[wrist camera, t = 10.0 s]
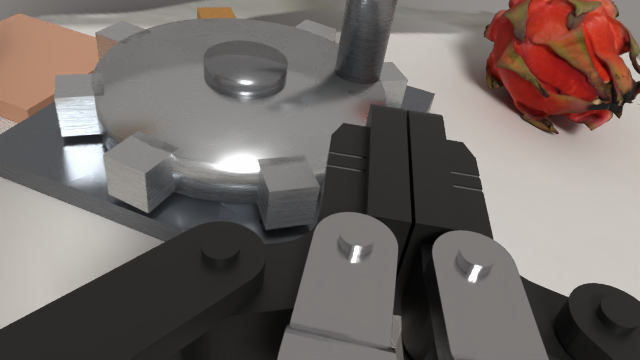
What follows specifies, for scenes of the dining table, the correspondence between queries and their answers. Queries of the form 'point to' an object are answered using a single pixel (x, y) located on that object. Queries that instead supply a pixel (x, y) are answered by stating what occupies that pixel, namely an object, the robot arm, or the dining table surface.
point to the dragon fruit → (563, 60)
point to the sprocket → (230, 105)
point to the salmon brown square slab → (38, 63)
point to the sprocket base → (91, 185)
